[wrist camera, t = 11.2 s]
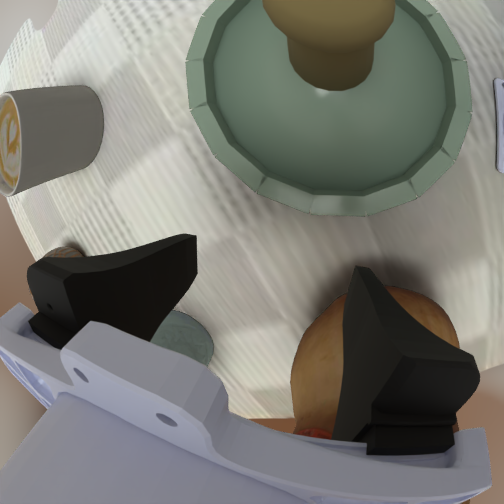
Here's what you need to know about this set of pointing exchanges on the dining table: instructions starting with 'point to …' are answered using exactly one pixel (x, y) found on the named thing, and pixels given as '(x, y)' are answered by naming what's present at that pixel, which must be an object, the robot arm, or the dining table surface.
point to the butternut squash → (331, 361)
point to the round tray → (330, 111)
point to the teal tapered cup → (184, 337)
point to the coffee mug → (47, 134)
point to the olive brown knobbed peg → (331, 37)
